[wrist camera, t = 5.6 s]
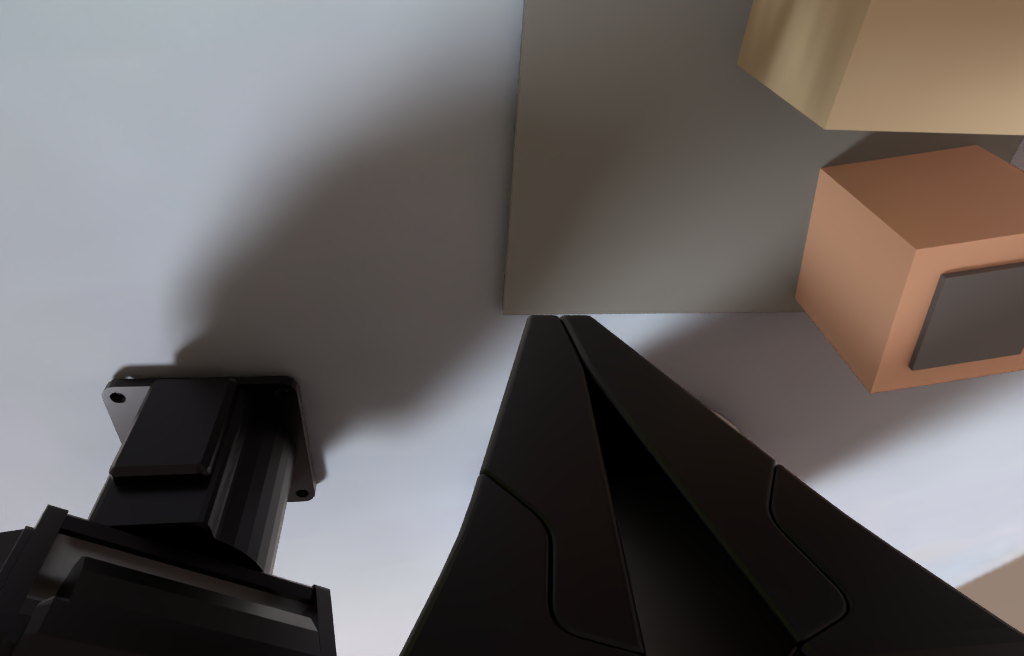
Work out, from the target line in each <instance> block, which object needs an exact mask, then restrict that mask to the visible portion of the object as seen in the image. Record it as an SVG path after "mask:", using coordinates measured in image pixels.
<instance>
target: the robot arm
mask: <svg viewBox="0 0 1024 656" xmlns="http://www.w3.org/2000/svg"><path fill="white" fill-rule="evenodd" d="M279 389H286V390H288V391H287V392H284V391H281V390H279ZM116 392H117V393H121V394H123V395H119V394H117V393H116ZM102 398H103V401H104V403H105V406H106V408H107V410H108V413H109V415H110V417H111V420H112V422H113V424H114V427H115V429H116V431H117V434H118V436H119V438H120V441H121V443H122V445H121V447H120V449H119V451H118V453H117V455H116V457H115V459H114V461H113V463H112V465H111V467H110V470H109V476H108V478H107V480H106V483H105V485H104V487H103V489H102V491H101V493H100V495H99V497H98V499H97V501H96V503H95V505H94V507H93V509H92V511H91V513H90V515H89V517H88V519H87V520H86V519H83V518H80V517H76V516H73V515H70V514H67V513H68V510H65V509H61V508H58V507H55V506H51V505H48V506H47V507H46V509H45V511H44V512H43V514H42V516H41V517H40V519H39V521H38V522H37V524H36V526H35V527H34V528H32V527H29V526H26V527H25V528H24V529H21V530H15V531H8V532H2V533H0V656H337V655H336V645H335V635H334V625H333V615H332V605H331V595H330V589H327V588H324V587H321V586H317V585H313V586H312V587H311V586H307V585H304V584H301V583H297V582H294V581H291V580H287V579H284V578H281V577H277V576H274V575H272V573H273V568H274V563H275V558H276V553H277V548H278V543H279V539H280V534H281V529H282V524H283V519H284V514H285V509H286V504H287V502H300V501H309V500H311V499H312V498H313V497H314V496H315V490H316V481H315V475H314V470H313V464H312V458H311V452H310V447H309V441H308V435H307V430H306V424H305V418H304V412H303V407H302V401H301V395H300V390H299V385H298V383H297V382H296V381H295V380H294V379H293V378H290V377H287V376H256V377H207V378H158V379H117V380H112V381H110V382H109V383H108V384H107V386H106V388H105V389H104V391H103V393H102ZM775 465H776V462H775V460H774V459H773V458H771V457H770V456H769V455H768V454H766V453H765V452H764V451H762V450H761V449H760V448H759V447H757V446H756V445H755V444H753V443H752V442H751V441H750V440H748V439H747V438H746V437H744V436H743V435H742V434H741V433H739V432H738V431H737V430H736V429H734V428H733V427H732V426H730V425H729V424H728V423H727V422H725V421H724V420H723V419H721V418H720V417H719V416H718V415H716V414H715V413H714V412H713V411H711V410H710V409H709V408H707V407H706V406H705V405H704V404H702V403H701V402H700V401H698V400H697V399H696V398H695V397H693V396H692V395H691V394H689V393H688V392H687V391H686V390H684V389H683V388H682V387H681V386H679V385H678V384H677V383H675V382H674V381H673V380H672V379H670V378H669V377H668V376H666V375H665V374H664V373H663V372H661V371H660V370H659V369H658V368H656V367H655V366H654V365H652V364H651V363H650V362H649V361H647V360H646V359H645V358H643V357H642V356H641V355H640V354H638V353H637V352H636V351H634V350H633V349H632V348H631V347H629V346H628V345H627V344H626V343H624V342H623V341H622V340H620V339H619V338H618V337H617V336H615V335H614V334H613V333H611V332H610V331H609V330H608V329H606V328H605V327H604V326H603V325H601V324H600V323H599V322H597V321H596V320H595V319H594V318H592V317H590V316H587V315H564V316H562V317H560V319H559V317H557V316H555V315H531V316H529V317H528V319H527V321H526V325H525V328H524V331H523V334H522V338H521V341H520V344H519V347H518V350H517V354H516V357H515V360H514V363H513V367H512V370H511V373H510V376H509V380H508V383H507V386H506V389H505V393H504V396H503V399H502V402H501V405H500V409H499V412H498V415H497V418H496V422H495V425H494V428H493V431H492V435H491V438H490V441H489V444H488V447H487V451H486V454H485V457H484V460H483V464H482V467H481V470H480V476H479V477H478V479H477V482H476V485H475V488H474V491H473V495H472V498H471V501H470V504H469V507H468V509H467V512H466V515H465V518H464V521H463V523H462V526H461V529H460V532H459V534H458V537H457V539H456V541H455V543H454V545H453V548H452V550H451V552H450V554H449V556H448V559H447V561H446V563H445V565H444V567H443V570H442V572H441V574H440V576H439V578H438V580H437V582H436V584H435V586H434V588H433V590H432V592H431V594H430V596H429V598H428V600H427V602H426V604H425V606H424V608H423V610H422V612H421V614H420V616H419V618H418V620H417V622H416V624H415V626H414V627H413V629H412V631H411V633H410V635H409V637H408V639H407V641H406V643H405V645H404V647H403V649H402V651H401V653H400V655H399V656H1024V634H1023V633H1021V632H1020V631H1018V630H1017V629H1015V628H1013V627H1012V626H1010V625H1009V624H1007V623H1006V622H1004V621H1003V620H1001V619H1000V618H998V617H997V616H995V615H994V614H992V613H991V612H989V611H988V610H986V609H985V608H983V607H982V606H980V605H979V604H977V603H976V602H974V601H973V600H971V599H970V598H968V597H967V596H965V595H964V594H962V593H961V592H959V591H958V590H957V589H955V588H954V587H952V586H951V585H949V584H948V583H946V582H945V581H943V580H942V579H940V578H939V577H937V576H936V575H934V574H933V573H931V572H930V571H928V570H927V569H925V568H924V567H922V566H921V565H919V564H918V563H916V562H915V561H913V560H912V559H910V558H909V557H907V556H906V555H904V554H903V553H901V552H900V551H898V550H897V549H895V548H894V547H892V546H891V545H890V544H888V543H887V542H885V541H884V540H882V539H881V538H879V537H878V536H877V535H875V534H874V533H872V532H871V531H869V530H868V529H866V528H865V527H864V526H862V525H861V524H859V523H858V522H856V521H855V520H854V519H852V518H851V517H849V516H848V515H846V514H845V513H844V512H842V511H841V510H840V509H838V508H837V507H836V506H834V505H833V504H832V503H830V502H829V501H828V500H826V499H825V498H824V497H822V496H821V495H820V494H818V493H817V492H816V491H814V490H813V489H812V488H810V487H809V486H808V485H806V484H805V483H804V482H802V481H801V480H800V479H799V478H797V477H796V476H795V475H793V474H792V473H791V472H790V471H788V470H787V469H786V468H784V467H783V466H782V465H776V466H775ZM302 489H303V490H302Z"/></svg>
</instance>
